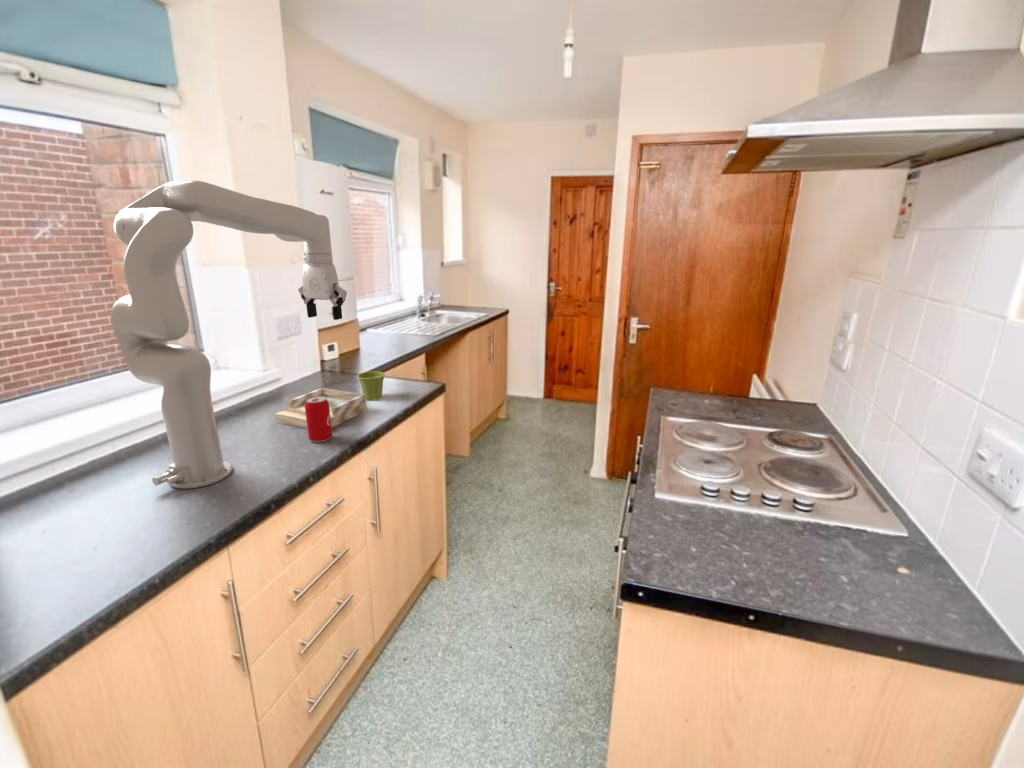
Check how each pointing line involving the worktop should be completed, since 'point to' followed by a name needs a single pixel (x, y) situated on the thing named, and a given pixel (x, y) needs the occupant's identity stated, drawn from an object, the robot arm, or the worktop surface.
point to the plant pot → (372, 384)
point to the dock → (339, 405)
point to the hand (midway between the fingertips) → (325, 318)
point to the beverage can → (318, 419)
